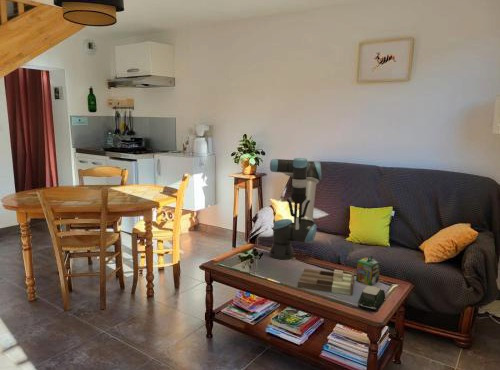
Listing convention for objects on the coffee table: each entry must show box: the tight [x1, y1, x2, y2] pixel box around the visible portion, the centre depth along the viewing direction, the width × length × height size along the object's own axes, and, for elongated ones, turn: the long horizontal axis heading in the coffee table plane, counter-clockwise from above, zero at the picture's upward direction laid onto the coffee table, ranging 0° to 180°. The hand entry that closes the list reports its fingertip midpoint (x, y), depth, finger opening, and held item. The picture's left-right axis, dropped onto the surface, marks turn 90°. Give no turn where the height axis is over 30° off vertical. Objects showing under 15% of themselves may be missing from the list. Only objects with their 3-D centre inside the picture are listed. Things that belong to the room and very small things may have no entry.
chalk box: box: [355, 254, 381, 286], centre depth 207 cm, size 9×9×15 cm
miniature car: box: [357, 285, 386, 311], centre depth 181 cm, size 9×18×8 cm, turn 148°
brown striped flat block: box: [297, 268, 356, 296], centre depth 202 cm, size 20×27×6 cm
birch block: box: [333, 269, 344, 282], centre depth 200 cm, size 4×4×4 cm
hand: (297, 228), depth 210 cm, fingers closed
